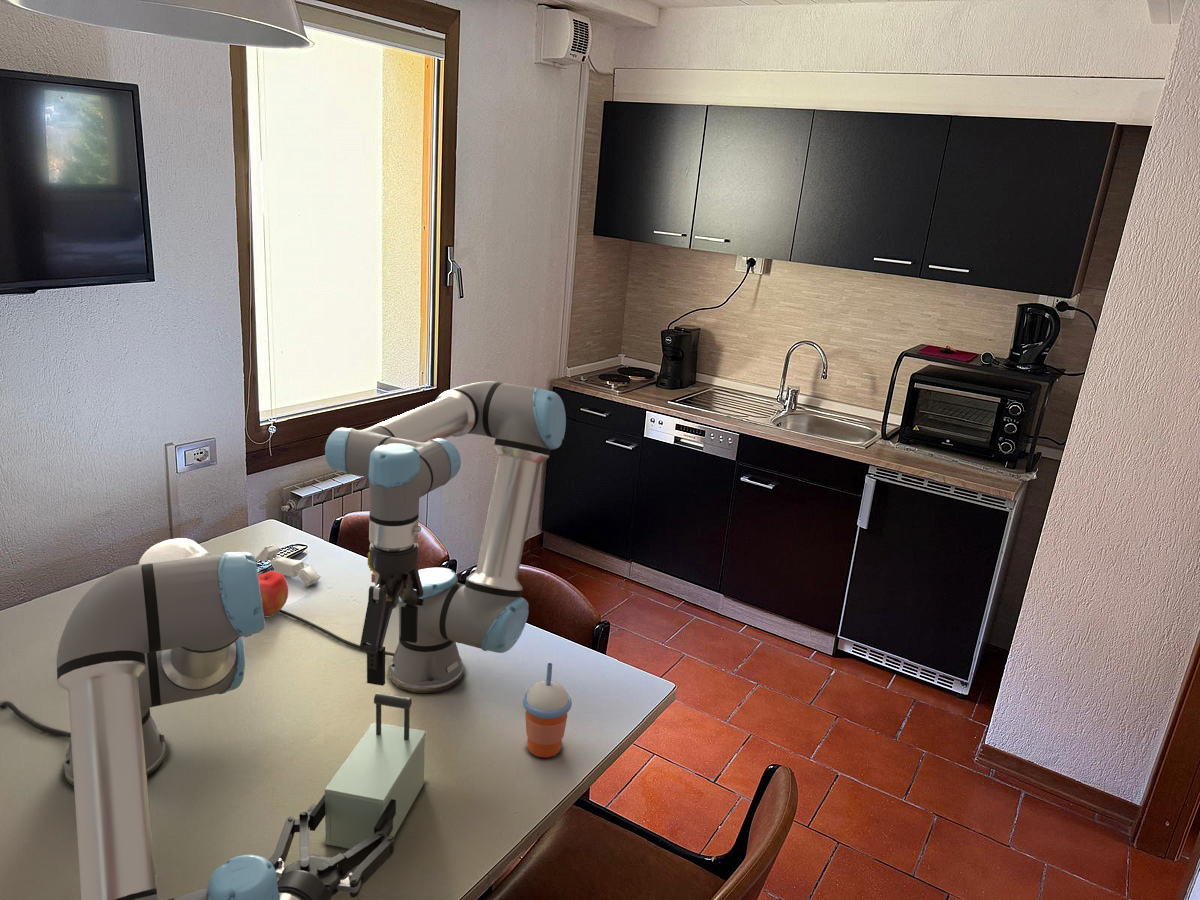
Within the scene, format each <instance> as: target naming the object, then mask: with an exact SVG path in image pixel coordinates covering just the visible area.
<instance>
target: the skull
mask: <svg viewBox="0 0 1200 900" xmlns="http://www.w3.org/2000/svg"><path fill="white" fill-rule="evenodd" d="M210 555H211V554H210V553H209V551H207V550H206V549H205V548H204V547H202V546H201V545H200V544H199V543H197V541H195V540H193V539H189V538H186V537H185V538H183V537H177V538H176V537H175V538H169V539H166V540H163V541H161V542H158V543H156V544H154V545H152V546H150V547H149V548H148V549H147V550H146V551H145V552H144V553H143V554H142V556H141V557H140V559H139V561H138V564H141V565H142V564H150V563H157V562H165V561H172V560H180V559H187V558H195V557H202V556H210Z"/></svg>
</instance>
